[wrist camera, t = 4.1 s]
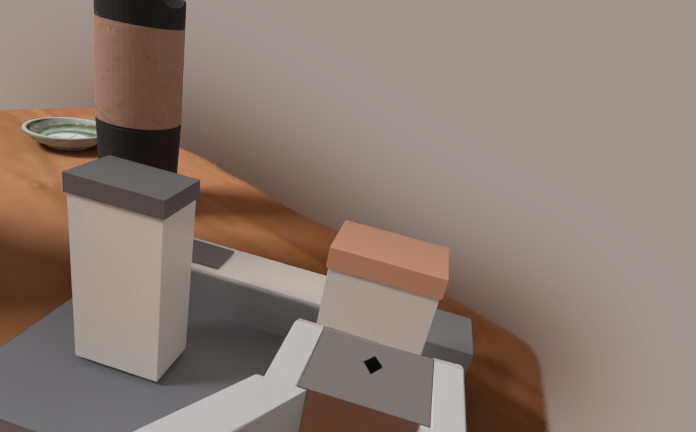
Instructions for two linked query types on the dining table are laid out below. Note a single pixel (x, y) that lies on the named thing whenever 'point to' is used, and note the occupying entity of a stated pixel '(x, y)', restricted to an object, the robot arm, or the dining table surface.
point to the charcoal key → (130, 262)
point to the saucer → (62, 132)
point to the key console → (196, 359)
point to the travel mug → (139, 79)
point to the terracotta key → (383, 286)
